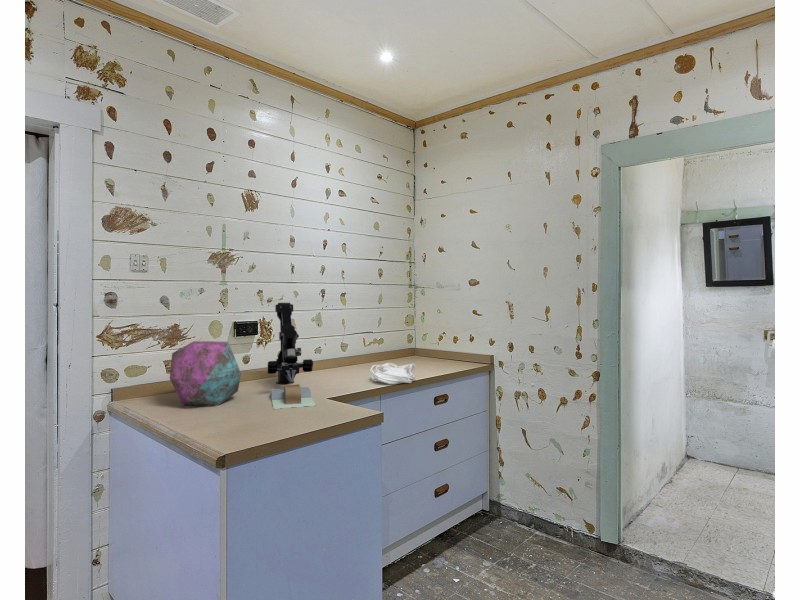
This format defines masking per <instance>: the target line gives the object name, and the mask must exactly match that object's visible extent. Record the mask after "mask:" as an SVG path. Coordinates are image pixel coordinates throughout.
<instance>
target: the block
mask: <svg viewBox="0 0 800 600" xmlns="http://www.w3.org/2000/svg"><path fill="white" fill-rule="evenodd" d="M301 387H302V386H300V383H299V384H283V388H284V401H285V404H286V405H289V404H301Z"/></svg>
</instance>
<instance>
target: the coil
mask: <svg viewBox="0 0 800 600" xmlns="http://www.w3.org/2000/svg"><path fill="white" fill-rule="evenodd" d="M374 368H375V370H373V369H374ZM415 368H416V364H415V363H408V364H404V365H399V366H398V365H397V364H395V363H393V362H386V363H383V364H373V365H372V366H371V367H370V368H369V373H370V380H371V381H372V382H374V381H375V380H376V381H375V382H374V383H380V382H382V383H384V384H389V385H397V384H401V383H406V384H412V380H413V381H416V376H415V375H414V374H413V370H414V369H415Z"/></svg>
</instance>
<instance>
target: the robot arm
mask: <svg viewBox="0 0 800 600" xmlns="http://www.w3.org/2000/svg"><path fill="white" fill-rule="evenodd" d="M274 306H275V310H274V311H275V313H276V317H277V318H278V320H279V327H280V331H279V332H278V340H279V341H280V351H279V353H278V354H277V358H276V359H275V360H269V361H268V362H267V374H268V375H272V374H273V375H274V374H275V375H276V373H277V381H276V382H275V384H279V385H290V384H293V383H295V381H294V380H295V378H296V376H297V375H298V374H300V369H302V371H303V372H304V373H306V372H307V373H308V372H309V373H311V372H312V371H313V367H314V360H312V359H311V358H310V359H307V358H306V359H303V360H302V362H298V357H300V356H302V347H296V344H297V340H298V338H299V334H298V331H297V330H296V327H295V326H294V325H293V323H292V314H293V312H294V304H293V303H292V304H291V302H277V304H275V305H274Z"/></svg>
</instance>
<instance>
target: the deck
mask: <svg viewBox="0 0 800 600" xmlns="http://www.w3.org/2000/svg"><path fill="white" fill-rule="evenodd" d="M300 387H301V398H309V397H311V398H312V390H311V388H310V387H309V386H300ZM270 399H272V400H280V399H284V387H283V388H271V389H270ZM272 400H271V401H272Z"/></svg>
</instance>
